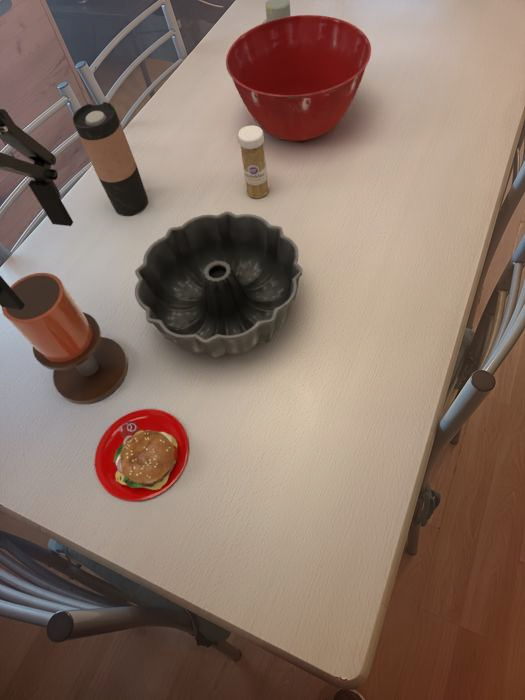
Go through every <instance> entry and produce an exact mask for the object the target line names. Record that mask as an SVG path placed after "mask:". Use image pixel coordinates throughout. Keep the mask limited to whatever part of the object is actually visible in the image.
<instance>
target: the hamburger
mask: <svg viewBox="0 0 525 700" xmlns="http://www.w3.org/2000/svg"><path fill="white" fill-rule="evenodd" d="M189 449H190V447H189V437H188V435H187V432H186V429H185V428H184V426H183V424H182V423H181V422H180V420H179V419H177V418H176V417H175V416H173V415H172V414H170V413H168V412H166V411H164V410H160V409H154V408H144V409H143V408H142V409H138V410H135V411H132V412H131V411H130V412H129V413H127V414H125V415H122V416H121V417H120V418H118V419H117V420H116V421H114V422H113V423H112V424H111V425H110V426H109V427H108V428H107V429H106V431H104V433H103V435H102V437H101V438H100V440H99V442H98V444H97V447H96V450H95V455H94V470H95V474H96V477H97V479H98V481H99V483H100V485H101V486H102V488H103V489H104V490H105V491H106V492H107V493H109V494H110V495H111V496H113V497H115V498H117V499H119V500H123V501H129V502H139V501H145V500H149V499H152V498H155V497H156V496H159V495H160V494H162V493H164V492H165V491H167V490H168V489H169V488H170V487H171V486H173V484H174V483H176V481H177V480H178V479H179V477H180V476H181V474H182V472H183V471H184V469H185V467H186V464H187V461H188V458H189Z"/></svg>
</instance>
